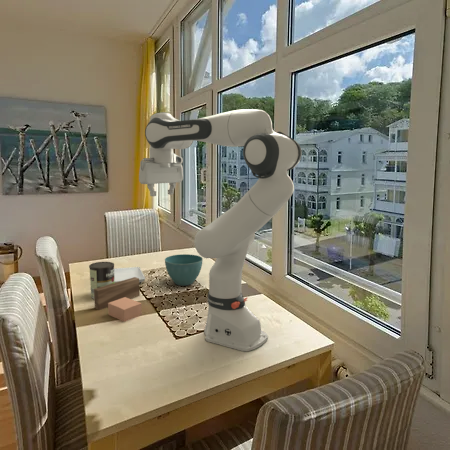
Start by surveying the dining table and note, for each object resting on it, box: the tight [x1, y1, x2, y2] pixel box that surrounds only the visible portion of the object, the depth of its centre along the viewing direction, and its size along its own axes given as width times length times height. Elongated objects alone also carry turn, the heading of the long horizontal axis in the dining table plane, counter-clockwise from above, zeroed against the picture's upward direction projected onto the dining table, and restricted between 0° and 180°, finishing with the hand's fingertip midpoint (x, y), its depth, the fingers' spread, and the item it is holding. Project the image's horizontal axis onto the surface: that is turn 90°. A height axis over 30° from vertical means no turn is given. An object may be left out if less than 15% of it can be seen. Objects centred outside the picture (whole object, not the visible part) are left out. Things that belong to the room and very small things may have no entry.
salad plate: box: [114, 266, 146, 284], centre depth 179 cm, size 21×21×3 cm
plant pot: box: [164, 253, 204, 287], centre depth 175 cm, size 18×18×12 cm
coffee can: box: [88, 261, 115, 299], centre depth 157 cm, size 10×10×14 cm
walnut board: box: [94, 277, 141, 311], centre depth 150 cm, size 3×20×8 cm, turn 142°
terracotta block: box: [107, 297, 143, 322], centre depth 138 cm, size 10×8×5 cm
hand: (162, 195), depth 136 cm, fingers open, 8 cm apart
